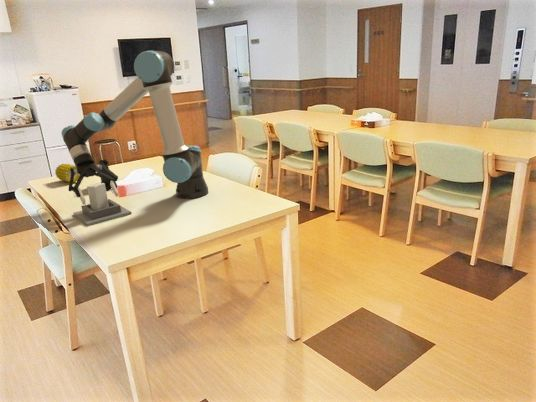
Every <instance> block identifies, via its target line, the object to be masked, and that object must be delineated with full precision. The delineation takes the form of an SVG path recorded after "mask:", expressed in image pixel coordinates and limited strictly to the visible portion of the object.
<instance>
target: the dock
mask: <svg viewBox="0 0 536 402" xmlns="http://www.w3.org/2000/svg"><path fill="white" fill-rule="evenodd" d="M108 204H109V207H107V208H103V209H99V210H95V211H93V210H91V205H90V203H87V204H84V205H83V204H82V205H81V206H80V207H81V210H78V211H75V212H73V213H72V215H73V217H75V218H77V219H78V220H79V221H80V222H82V223H83V224H84V225H86V226H87V227H89V226H93V225H97V224H101V223H104V222H108V221H111V220H114V219H119V218H122V217H125V216H130V215H132V211H131V210H130V209H129V210H128V209H127V208H125V207H123V206H122V205H120V204H119V203H117V202H115V201H113V199H112V200H111V199H108Z"/></svg>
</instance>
